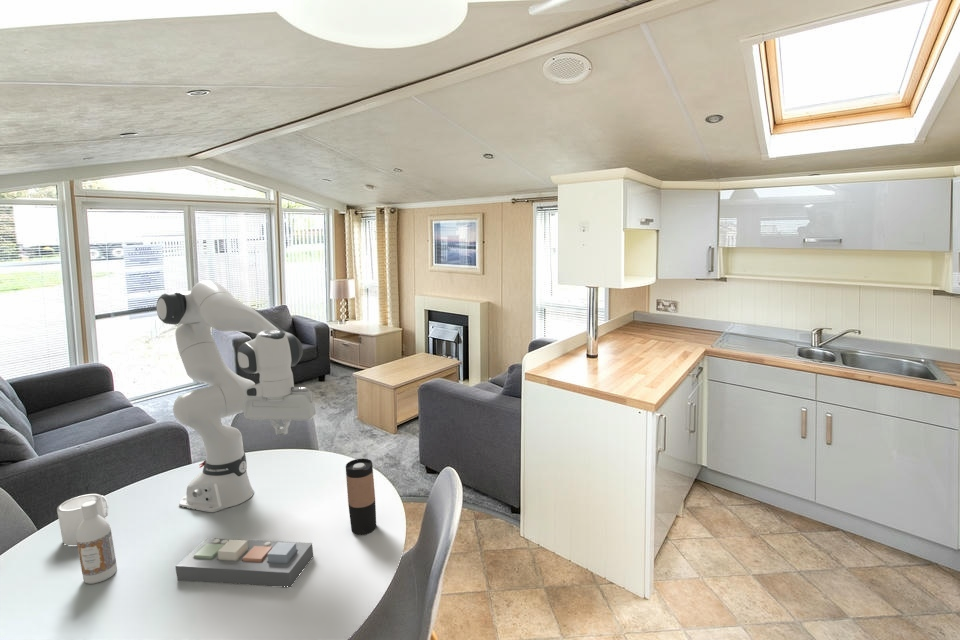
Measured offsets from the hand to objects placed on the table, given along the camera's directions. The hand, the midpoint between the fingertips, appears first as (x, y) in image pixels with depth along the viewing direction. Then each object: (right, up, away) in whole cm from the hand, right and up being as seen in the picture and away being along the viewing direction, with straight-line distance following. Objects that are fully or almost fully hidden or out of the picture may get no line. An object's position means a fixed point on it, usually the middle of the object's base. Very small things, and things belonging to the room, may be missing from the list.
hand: (282, 433), depth 142 cm
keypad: (-3, -32, -14) cm, 35 cm away
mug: (-59, -31, +5) cm, 67 cm away
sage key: (-14, -31, -13) cm, 36 cm away
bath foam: (-41, -33, -15) cm, 55 cm away
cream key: (-7, -30, -14) cm, 33 cm away
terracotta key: (0, -31, -14) cm, 34 cm away
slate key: (+7, -29, -16) cm, 34 cm away
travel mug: (+23, -28, +2) cm, 37 cm away
